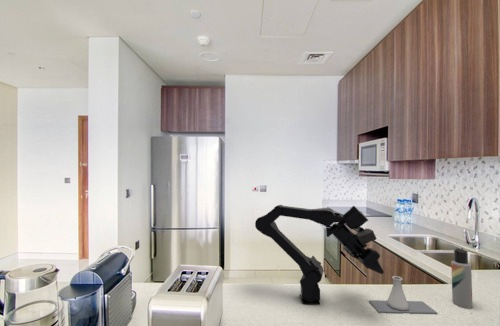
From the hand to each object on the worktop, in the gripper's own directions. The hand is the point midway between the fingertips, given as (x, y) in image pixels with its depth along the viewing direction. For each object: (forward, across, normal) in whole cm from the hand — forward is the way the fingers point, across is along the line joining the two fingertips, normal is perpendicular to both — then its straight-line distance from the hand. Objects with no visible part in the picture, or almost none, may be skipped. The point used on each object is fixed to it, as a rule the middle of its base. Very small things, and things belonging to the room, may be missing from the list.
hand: (376, 268), depth 92 cm
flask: (+15, 0, +4) cm, 15 cm away
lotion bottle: (+33, +2, -14) cm, 35 cm away
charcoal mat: (+16, 0, +3) cm, 16 cm away
